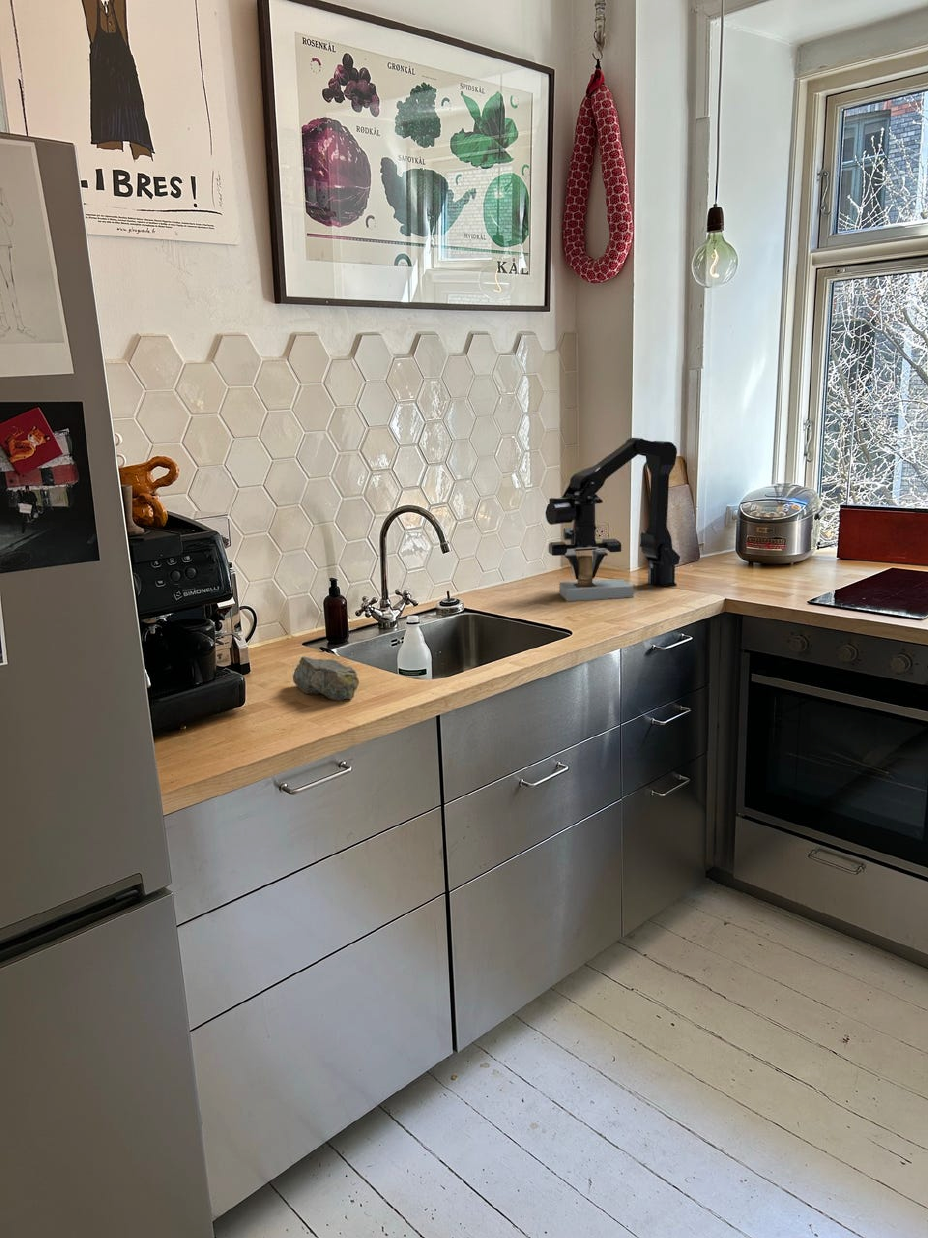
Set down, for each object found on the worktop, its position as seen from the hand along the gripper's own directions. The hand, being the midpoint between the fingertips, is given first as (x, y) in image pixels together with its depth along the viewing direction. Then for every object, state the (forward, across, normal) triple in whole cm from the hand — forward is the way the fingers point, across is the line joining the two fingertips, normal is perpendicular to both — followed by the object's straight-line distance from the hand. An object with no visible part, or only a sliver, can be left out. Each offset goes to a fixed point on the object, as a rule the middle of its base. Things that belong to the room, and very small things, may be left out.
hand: (584, 578), depth 239 cm
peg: (+3, 0, 0) cm, 3 cm away
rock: (+5, +66, +67) cm, 94 cm away
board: (+5, -3, 0) cm, 6 cm away
